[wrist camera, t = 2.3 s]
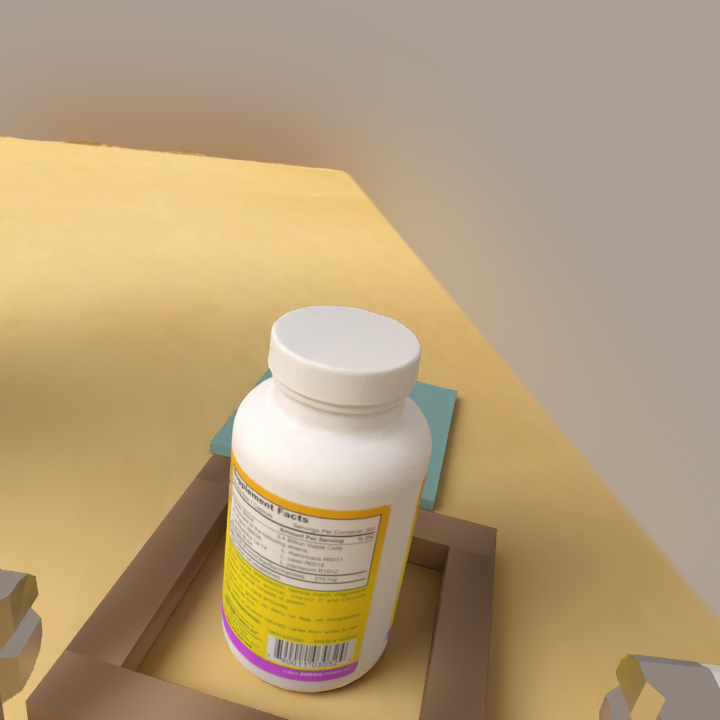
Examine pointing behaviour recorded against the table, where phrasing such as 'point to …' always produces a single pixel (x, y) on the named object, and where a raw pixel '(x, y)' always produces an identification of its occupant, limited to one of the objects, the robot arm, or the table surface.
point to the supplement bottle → (323, 498)
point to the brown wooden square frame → (177, 571)
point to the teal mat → (434, 408)
